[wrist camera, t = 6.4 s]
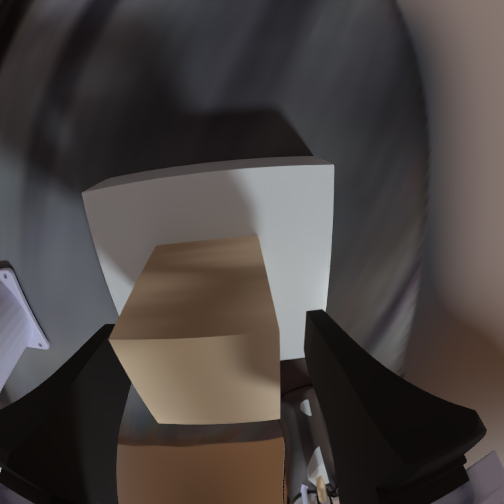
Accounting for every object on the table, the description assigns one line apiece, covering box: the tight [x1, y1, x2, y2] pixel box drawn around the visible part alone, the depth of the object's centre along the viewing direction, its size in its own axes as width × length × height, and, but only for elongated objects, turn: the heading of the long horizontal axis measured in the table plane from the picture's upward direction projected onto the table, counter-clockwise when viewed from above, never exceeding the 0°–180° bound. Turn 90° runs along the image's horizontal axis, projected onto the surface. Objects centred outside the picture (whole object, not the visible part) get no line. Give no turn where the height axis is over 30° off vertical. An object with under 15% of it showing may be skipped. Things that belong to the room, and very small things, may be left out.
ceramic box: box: [82, 156, 334, 360], centre depth 15 cm, size 11×11×4 cm
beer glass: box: [277, 385, 339, 504], centre depth 16 cm, size 7×7×15 cm
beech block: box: [109, 235, 280, 424], centre depth 10 cm, size 4×4×6 cm
